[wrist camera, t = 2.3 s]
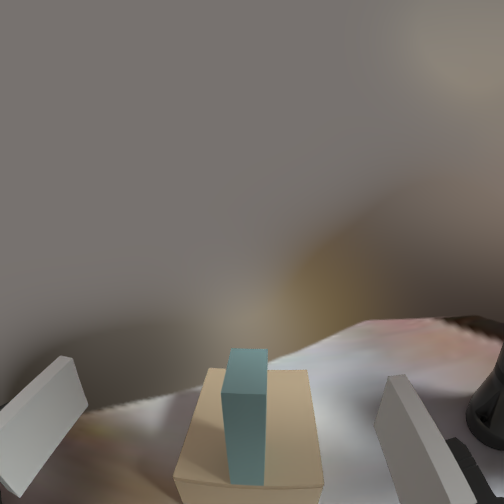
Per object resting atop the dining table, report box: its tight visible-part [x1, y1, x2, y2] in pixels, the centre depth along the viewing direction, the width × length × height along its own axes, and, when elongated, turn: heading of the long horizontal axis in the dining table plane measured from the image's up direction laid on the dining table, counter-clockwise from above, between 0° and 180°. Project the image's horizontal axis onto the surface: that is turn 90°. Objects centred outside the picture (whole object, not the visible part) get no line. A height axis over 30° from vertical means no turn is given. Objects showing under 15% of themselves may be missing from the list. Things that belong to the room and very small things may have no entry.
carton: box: [174, 480, 323, 504], centre depth 31 cm, size 20×14×6 cm
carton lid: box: [173, 348, 324, 488], centre depth 29 cm, size 20×14×12 cm
